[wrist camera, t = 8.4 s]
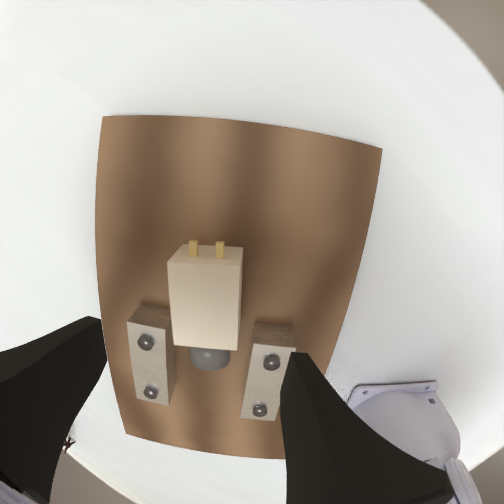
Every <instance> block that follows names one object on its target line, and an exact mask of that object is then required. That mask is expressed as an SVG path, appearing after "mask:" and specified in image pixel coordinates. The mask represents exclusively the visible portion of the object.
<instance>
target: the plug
mask: <svg viewBox="0 0 504 504" xmlns="http://www.w3.org/2000/svg"><path fill="white" fill-rule="evenodd" d="M224 244H225V241H217V242H216V246H212V245H198V240H190V241H189V244H183V245H182V246H181V247H180V248H179V249H178V250H177V251H176V252H175V254H174V255H173V256H172V257H171V258H170V259H169V260H168V262H167V270H168V286H169V299H170V311H171V321H172V331H173V341H174V345H180V346H189V354H190V361H191V363H192V364H193V365H194V366H195V367H196V368H198V369H201V370H205V371H216V370H220V369H222V368H224V367H226V366H227V365H228V364H229V362H230V350H235V351H237V347H238V338H239V330H240V321H241V293H242V266H243V247H231V246H224Z"/></svg>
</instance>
